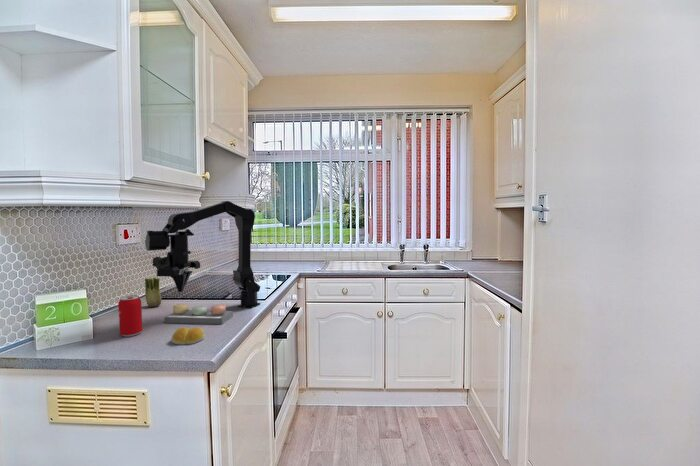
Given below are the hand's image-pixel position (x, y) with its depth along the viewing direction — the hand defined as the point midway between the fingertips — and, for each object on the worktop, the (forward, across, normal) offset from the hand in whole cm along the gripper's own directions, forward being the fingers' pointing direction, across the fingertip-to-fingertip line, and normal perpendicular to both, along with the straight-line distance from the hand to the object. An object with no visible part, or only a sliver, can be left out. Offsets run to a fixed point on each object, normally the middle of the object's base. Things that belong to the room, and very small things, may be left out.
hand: (180, 291), depth 129 cm
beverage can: (+10, +16, -8) cm, 20 cm away
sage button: (+8, 0, +7) cm, 10 cm away
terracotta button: (+7, 0, +14) cm, 16 cm away
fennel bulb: (+10, -16, -20) cm, 28 cm away
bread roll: (+11, +20, +13) cm, 26 cm away
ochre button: (+7, 0, 0) cm, 7 cm away
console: (+10, 0, +7) cm, 12 cm away
